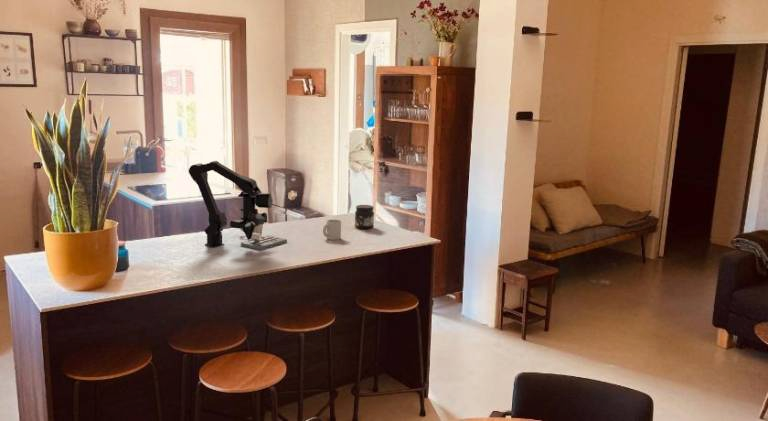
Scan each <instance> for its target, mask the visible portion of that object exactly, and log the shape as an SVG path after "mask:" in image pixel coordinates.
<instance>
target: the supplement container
mask: <svg viewBox="0 0 768 421" xmlns="http://www.w3.org/2000/svg"><path fill="white" fill-rule="evenodd" d="M374 220H375V212H374V206H373V205H371V204H358V205H356V207H355V212H354V227H355V228H356V229H358V230H362V229H363V230H366V231H367V230H368V231H369V230H371V229H373V228H374V227H375V226H374V223H375V221H374Z"/></svg>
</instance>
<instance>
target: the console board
mask: <svg viewBox="0 0 768 421" xmlns="http://www.w3.org/2000/svg"><path fill="white" fill-rule="evenodd" d="M286 243H288V239H287V238H283V237H278V236H273V235H269V234H268V235H264V236H262V239H260V240H259V242H258V243H254V239H253V238H252V239H250V240H245V241H242V242H240V246H241V247H243V248H249V249H252V250H258V251H261V250H264V249H269V248H272V247H275V246H279V245H282V244H286Z"/></svg>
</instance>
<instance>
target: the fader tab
mask: <svg viewBox="0 0 768 421" xmlns="http://www.w3.org/2000/svg"><path fill="white" fill-rule="evenodd" d="M262 237H263V234H259V233H253V234H252V237H251V239H252V240H253V239H254V243H258V242H259V240H260V239H262Z"/></svg>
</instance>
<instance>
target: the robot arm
mask: <svg viewBox="0 0 768 421" xmlns="http://www.w3.org/2000/svg"><path fill="white" fill-rule="evenodd" d="M211 171H213V172H215V173H216V174H219V175H220V176H222V177H224V178H225V179H227V180H229V181H230V182H232V183H234V184H235V185H236V186H237V188H238V189H239V190H241V192H240V193H239V194H238V195H237V196H238V198H242V208H240V211H241V212H242V216H241V217H240V219H233V220H230V222H229V227H230V228H234V229H240V228H242V229H243V231H244V232H243V231H242V232H243V233H244V234H245V237H246V238H247V241H249V240H252V237H251V236H252V234H253V231H254V229H255V227H257V226H258V225H260V224H263V225H264V224H266V223H268V214H267V212H262V213H261V212H260V213H259V210H258V208H262V209H271V208H272V205H273V198H272V195H271V192H267V193H265V192H262V191H261V189H260V188H259V186H258V183H257V180H256V179H254V178H251V177H248V176H244V175H241V174H239V173H237V172H235V171H234V170H233V169H231V168H229V167H227V166H225V165H224V164H223V163H220V162H219V161H217V160H212V161H210V162H208V163H205V164H203V163H201V162H200V163H199V162H198V163H195V164H192V165H191V166H190V167H189V168H188V174H189V176H190V177H191V179H192V180H193V181H194V182H195V183H196V185H197V186H198V190H199V192H200V194H201V197H202V199H203V202H204V205H205V208H206V210H207V214H208V220H207V221H208V224H209V225H208V226H207V227H206V228H205V229H204V233H205V234H206V243H205V244H204V246H207V247H210V248H217V247H222V246H224V245H225V243H223V234H222V233H223V230H224V228H226V226H227V225H228V222H227V221H228V218H227V217H226V213H225V212H224V211H223V212H221V211H220V210H219V207H218V205H217V202H216V199H215V196H214V195H213V192H212V189H211V187H210V184H209V182H208V178H209V177H208V176H209V175H208V172H211ZM241 220H243V221H241Z"/></svg>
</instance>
